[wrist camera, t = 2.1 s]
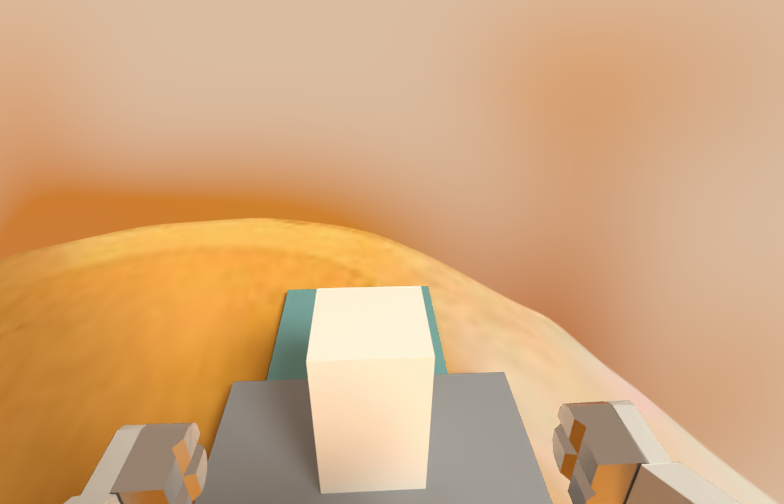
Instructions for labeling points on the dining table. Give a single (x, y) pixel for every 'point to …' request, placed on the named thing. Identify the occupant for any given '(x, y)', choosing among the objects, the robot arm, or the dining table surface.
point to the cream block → (370, 388)
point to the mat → (296, 336)
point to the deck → (439, 500)
